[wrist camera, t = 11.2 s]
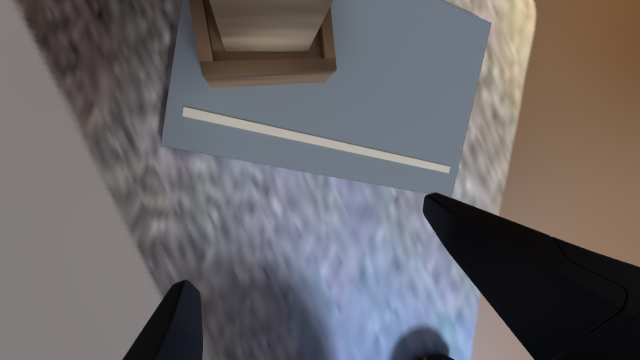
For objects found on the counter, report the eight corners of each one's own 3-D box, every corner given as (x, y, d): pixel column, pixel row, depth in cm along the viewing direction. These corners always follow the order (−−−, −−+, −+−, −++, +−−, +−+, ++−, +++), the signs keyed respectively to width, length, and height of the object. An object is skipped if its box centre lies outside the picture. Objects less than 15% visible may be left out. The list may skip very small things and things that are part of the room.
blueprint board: (443, 196, 23) (452, 198, 22) (166, 146, 16) (160, 145, 15) (481, 28, 22) (492, 22, 21) (201, -97, 15) (197, -115, 14)
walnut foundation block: (324, 82, 18) (336, 69, 15) (211, 87, 16) (201, 74, 13) (312, -37, 17) (322, -73, 14) (187, -46, 15) (172, -91, 12)
